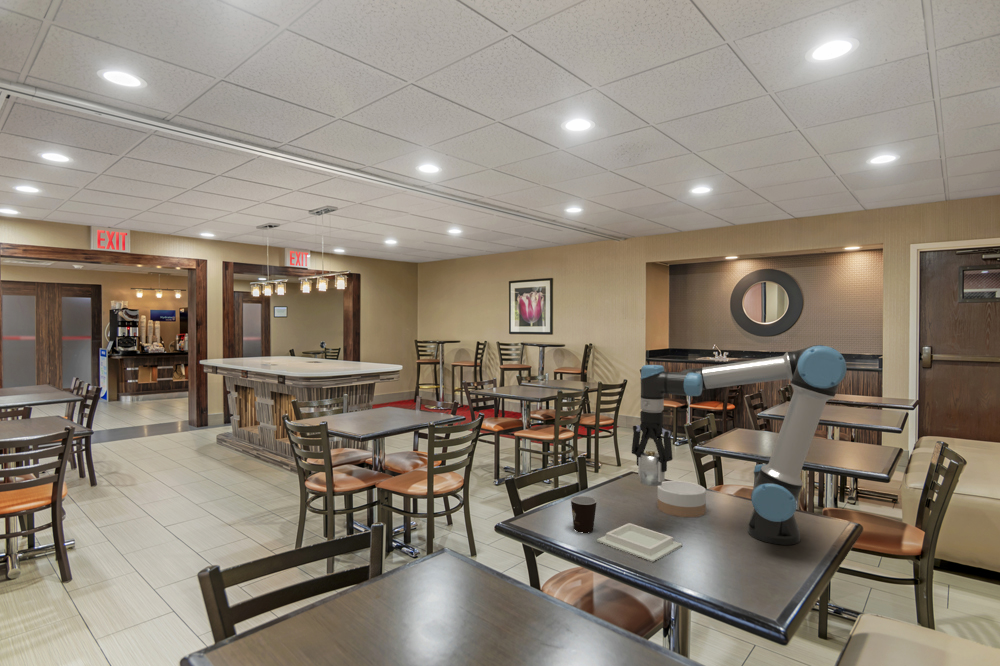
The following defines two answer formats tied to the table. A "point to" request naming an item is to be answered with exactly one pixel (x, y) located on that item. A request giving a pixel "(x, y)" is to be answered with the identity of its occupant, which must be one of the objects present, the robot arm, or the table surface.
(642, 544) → the guarded tray
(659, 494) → the bowl
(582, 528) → the coffee mug
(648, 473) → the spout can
